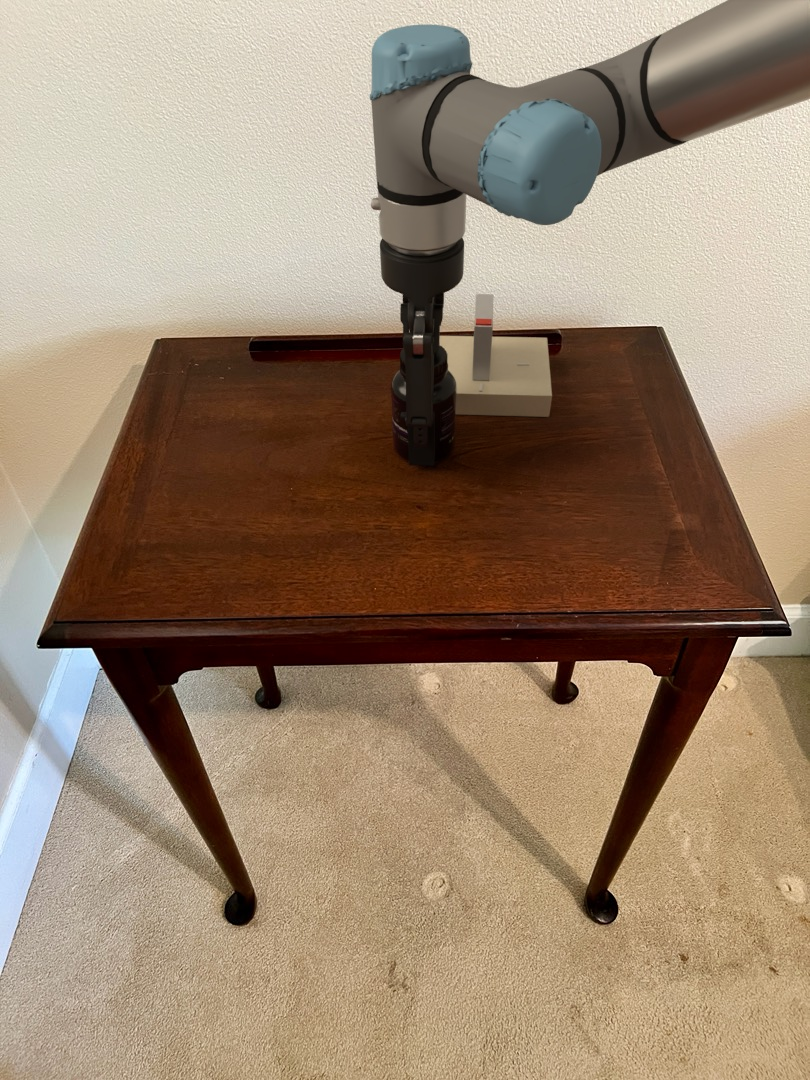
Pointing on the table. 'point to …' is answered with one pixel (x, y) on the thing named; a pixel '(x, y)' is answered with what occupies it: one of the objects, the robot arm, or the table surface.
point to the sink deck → (502, 377)
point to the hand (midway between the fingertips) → (424, 440)
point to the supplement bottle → (441, 406)
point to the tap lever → (482, 337)
